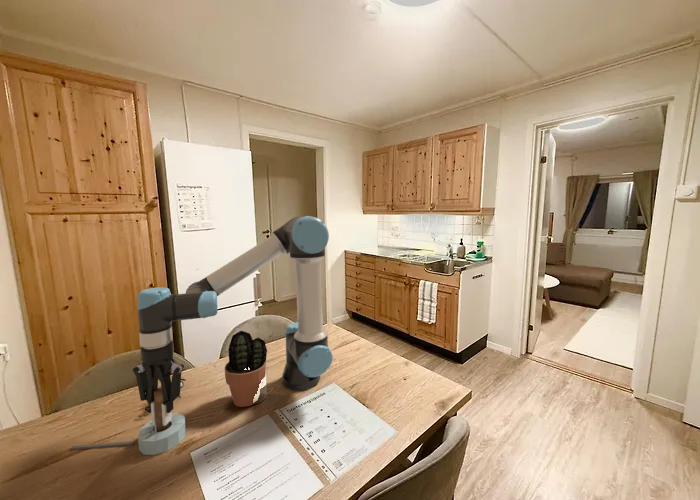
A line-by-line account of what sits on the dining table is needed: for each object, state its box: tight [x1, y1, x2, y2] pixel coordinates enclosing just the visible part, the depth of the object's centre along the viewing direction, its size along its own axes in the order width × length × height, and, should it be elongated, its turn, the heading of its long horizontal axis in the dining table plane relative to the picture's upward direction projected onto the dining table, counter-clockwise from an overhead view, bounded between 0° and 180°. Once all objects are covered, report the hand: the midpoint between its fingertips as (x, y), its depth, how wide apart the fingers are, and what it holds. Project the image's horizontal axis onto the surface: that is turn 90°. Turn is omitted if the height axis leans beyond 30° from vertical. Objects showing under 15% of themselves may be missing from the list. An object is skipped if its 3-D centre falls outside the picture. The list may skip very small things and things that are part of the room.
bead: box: [137, 412, 186, 456], centre depth 81 cm, size 11×11×4 cm
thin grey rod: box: [69, 440, 136, 451], centre depth 78 cm, size 16×1×1 cm, turn 97°
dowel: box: [154, 386, 169, 432], centre depth 80 cm, size 3×3×14 cm
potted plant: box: [224, 330, 268, 408], centre depth 98 cm, size 14×14×25 cm
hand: (162, 421), depth 81 cm, fingers closed on dowel, 2 cm apart
